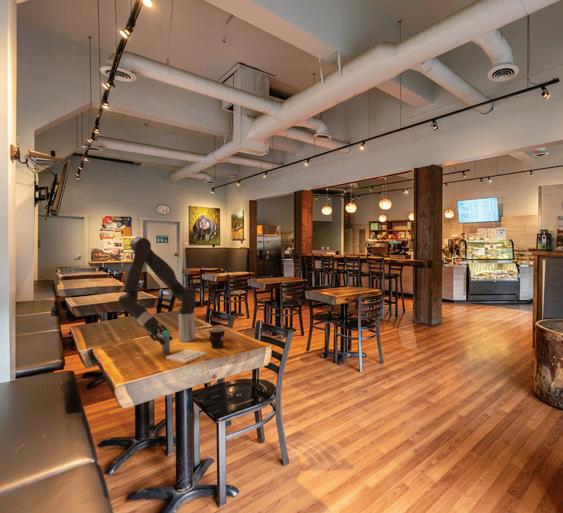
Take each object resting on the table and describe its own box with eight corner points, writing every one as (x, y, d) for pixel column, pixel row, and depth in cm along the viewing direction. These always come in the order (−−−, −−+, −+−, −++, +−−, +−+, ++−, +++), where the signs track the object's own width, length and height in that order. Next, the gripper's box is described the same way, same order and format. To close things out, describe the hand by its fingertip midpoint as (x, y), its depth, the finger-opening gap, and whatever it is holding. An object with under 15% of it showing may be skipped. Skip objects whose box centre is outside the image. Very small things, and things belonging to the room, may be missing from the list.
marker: (166, 351, 184) (166, 330, 183) (171, 352, 181) (171, 331, 181) (160, 353, 180) (159, 332, 180) (165, 354, 178) (165, 333, 177)
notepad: (187, 351, 184) (187, 348, 184) (206, 355, 176) (206, 352, 176) (166, 359, 171) (166, 356, 171) (184, 363, 164) (184, 361, 164)
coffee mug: (219, 344, 197) (219, 327, 197) (227, 346, 191) (227, 330, 190) (202, 348, 189) (202, 331, 188) (210, 351, 183) (210, 333, 182)
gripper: (145, 319, 174) (166, 341, 173) (158, 313, 188) (177, 334, 187) (136, 328, 175) (157, 350, 174) (150, 322, 189) (169, 343, 188)
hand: (167, 342), depth 180 cm, fingers open, 8 cm apart
